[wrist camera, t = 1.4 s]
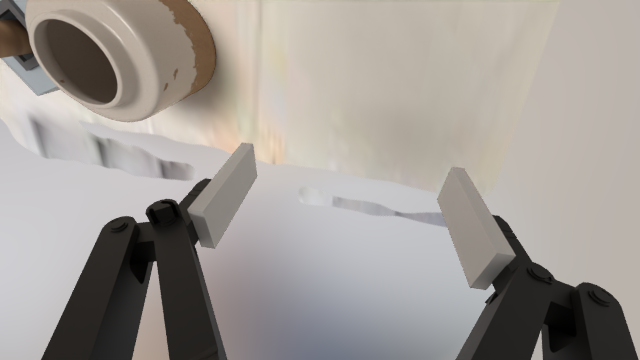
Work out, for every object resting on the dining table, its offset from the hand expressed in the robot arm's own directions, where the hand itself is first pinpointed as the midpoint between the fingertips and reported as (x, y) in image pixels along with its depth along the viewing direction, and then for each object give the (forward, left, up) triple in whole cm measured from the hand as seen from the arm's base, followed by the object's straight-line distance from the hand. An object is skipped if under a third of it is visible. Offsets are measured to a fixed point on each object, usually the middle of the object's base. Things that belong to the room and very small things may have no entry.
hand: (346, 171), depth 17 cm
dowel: (-22, -45, -23) cm, 55 cm away
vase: (-14, -27, -28) cm, 41 cm away
